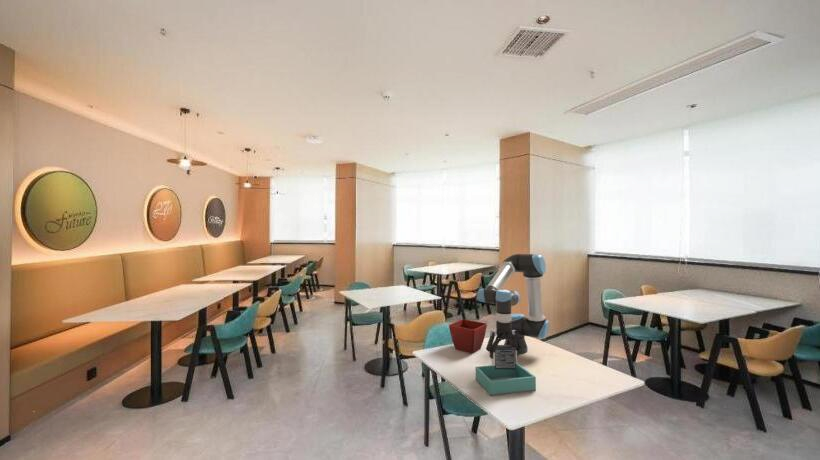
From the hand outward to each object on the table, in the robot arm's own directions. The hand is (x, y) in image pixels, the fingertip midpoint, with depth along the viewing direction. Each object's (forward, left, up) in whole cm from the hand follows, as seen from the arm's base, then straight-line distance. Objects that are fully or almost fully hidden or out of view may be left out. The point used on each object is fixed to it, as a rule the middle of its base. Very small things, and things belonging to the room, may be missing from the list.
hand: (504, 363), depth 169 cm
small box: (0, 0, -2) cm, 2 cm away
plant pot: (-1, -53, -11) cm, 54 cm away
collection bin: (0, 0, -11) cm, 11 cm away
